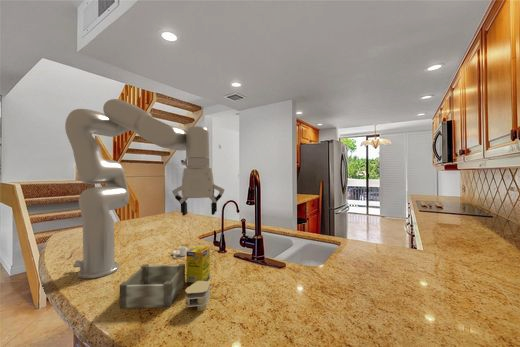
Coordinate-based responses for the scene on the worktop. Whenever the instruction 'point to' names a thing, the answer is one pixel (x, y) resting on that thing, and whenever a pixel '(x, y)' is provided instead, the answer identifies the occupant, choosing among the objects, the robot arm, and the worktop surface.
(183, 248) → the teacup and saucer
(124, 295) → the crate
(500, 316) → the worktop surface
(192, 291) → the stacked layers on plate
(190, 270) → the supplement box
